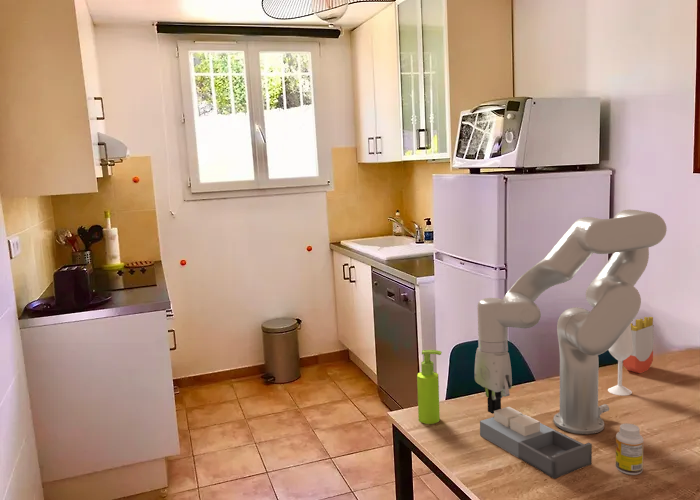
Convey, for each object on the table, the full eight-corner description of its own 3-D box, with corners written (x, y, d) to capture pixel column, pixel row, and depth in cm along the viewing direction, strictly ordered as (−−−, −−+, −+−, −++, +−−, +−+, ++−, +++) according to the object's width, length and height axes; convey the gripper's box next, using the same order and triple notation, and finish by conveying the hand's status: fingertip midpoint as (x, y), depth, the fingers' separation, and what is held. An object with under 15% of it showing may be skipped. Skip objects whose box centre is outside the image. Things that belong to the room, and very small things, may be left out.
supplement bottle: (619, 461, 133) (620, 419, 132) (645, 468, 130) (646, 425, 128) (612, 471, 129) (612, 428, 128) (639, 478, 126) (640, 434, 124)
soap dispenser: (442, 424, 157) (441, 354, 154) (417, 423, 158) (415, 353, 155) (443, 415, 162) (441, 347, 160) (419, 414, 164) (417, 347, 161)
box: (554, 445, 142) (554, 426, 142) (591, 464, 133) (591, 443, 132) (518, 458, 137) (518, 438, 136) (553, 478, 127) (553, 457, 127)
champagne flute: (607, 394, 172) (608, 316, 168) (607, 386, 178) (608, 310, 175) (632, 396, 169) (634, 317, 166) (631, 388, 175) (632, 312, 172)
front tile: (525, 423, 146) (525, 414, 146) (540, 431, 142) (539, 421, 141) (510, 428, 144) (510, 419, 143) (524, 436, 139) (524, 426, 139)
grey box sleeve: (514, 424, 155) (514, 410, 154) (554, 445, 142) (554, 430, 142) (480, 435, 149) (479, 421, 149) (518, 458, 137) (518, 442, 136)
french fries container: (621, 371, 189) (622, 319, 187) (639, 364, 195) (640, 313, 193) (635, 375, 185) (636, 321, 183) (653, 367, 191) (654, 315, 189)
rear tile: (508, 415, 151) (508, 406, 151) (522, 422, 147) (522, 413, 146) (494, 419, 149) (494, 410, 149) (507, 427, 145) (507, 417, 144)
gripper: (463, 341, 155) (465, 405, 158) (501, 355, 142) (502, 425, 144) (485, 336, 158) (486, 399, 161) (524, 349, 145) (525, 418, 148)
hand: (494, 411), depth 153 cm, fingers closed
